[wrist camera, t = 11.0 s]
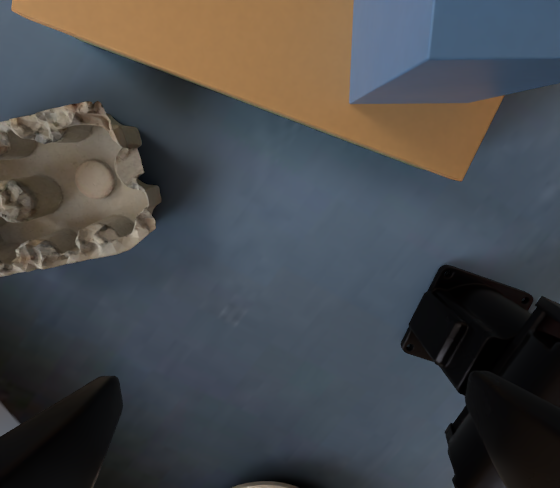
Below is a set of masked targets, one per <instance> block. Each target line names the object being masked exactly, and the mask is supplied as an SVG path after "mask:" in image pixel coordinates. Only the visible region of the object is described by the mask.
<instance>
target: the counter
mask: <svg viewBox="0 0 560 488" xmlns="http://www.w3.org/2000/svg"><path fill="white" fill-rule="evenodd" d="M353 4H354V0H12V8H11V10H12V11H13V12H15V13H17V14H19V15H21V16H23V17H25V18H27V19H29V20H32V21H34V22H37V23H40V24H42V25H45V26H47V27H50V28H53V29H55V30H58V31H61V32H63V33H66V34H69V35H71V36H73V37H75V38H76V39H78V40H80V41H83V42H86V43H88V44H91V45H94V46H96V47H99V48H101V49H104V50H107V51H109V52H112V53H115V54H117V55H120V56H123V57H125V58H128V59H131V60H133V61H136V62H138V63H141V64H144V65H146V66H149V67H152V68H154V69H157V70H160V71H162V72H165V73H168V74H170V75H173V76H176V77H178V78H181V79H183V80H186V81H189V82H191V83H194V84H197V85H199V86H202V87H205V88H207V89H210V90H213V91H215V92H218V93H220V94H223V95H226V96H228V97H231V98H234V99H236V100H239V101H242V102H244V103H247V104H250V105H252V106H255V107H257V108H260V109H263V110H265V111H268V112H271V113H273V114H276V115H279V116H281V117H284V118H287V119H289V120H292V121H294V122H297V123H300V124H302V125H305V126H308V127H310V128H313V129H316V130H318V131H321V132H324V133H326V134H329V135H331V136H334V137H337V138H339V139H342V140H345V141H347V142H350V143H353V144H355V145H358V146H361V147H363V148H366V149H369V150H371V151H374V152H376V153H379V154H382V155H384V156H387V157H390V158H392V159H395V160H398V161H400V162H403V163H406V164H408V165H411V166H413V167H416V168H419V169H423V170H428V171H430V172H433V173H436V174H438V175H441V176H444V177H446V178H449V179H452V180H457V181H462V180H463V178H464V176H465V174H466V172H467V170H468V168H469V166H470V164H471V162H472V160H473V158H474V156H475V154H476V152H477V150H478V148H479V146H480V144H481V142H482V140H483V138H484V136H485V134H486V132H487V130H488V128H489V126H490V124H491V122H492V120H493V118H494V116H495V114H496V112H497V110H498V108H499V106H500V104H501V102H502V100H503V98H504V96H505V95H502V96H498V97H493V98H489V99H484V100H479V101H475V102H470V103H415V104H349V93H350V71H351V49H352V27H353Z"/></svg>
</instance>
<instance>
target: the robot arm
mask: <svg viewBox="0 0 560 488" xmlns="http://www.w3.org/2000/svg"><path fill="white" fill-rule="evenodd" d="M448 270H449V271H450V272H449V274H448V275H446V276H445V272H446V271H448ZM523 298H525V299H524V300H523V301H521V300H522V299H523ZM532 302H533V297H532V295H530V294H528V293H527V292H525V291H522V290H519V289H517V288H514V287H511V286H508V285H505V284H502V283H499V282H496V281H494V280H491V279H488V278H485V277H482V276H479V275H476V274H474V273H471V272H468V271H465V270H462V269H459V268H456V267H454V266H451V265H443V266H441V267H440V268H439V270H438V272H437V274H436V275H435V277H434V279H433V281H432V283H431V285H430V287H429V289H428V291H427V292H426V293H424V295H423V297H422V299H421V301H420V303H419V305H418V307H417V309H416V311H415V313H414V315H413V317H412V319H411V321H410V323H409V328H408V330H407V332H406V334H405V336H404V338H403V340H402V341H401V347H402V349H403V350H404V352H406V353H408V354H411V355H414V356H417V357H420V358H424V359H427V360H430V361H433V362H435V364H437V365H439V367H440V368H441V369H442V371H443V372H444V373H445V375H446V376H447V377H448V379H449V380H450V382H451V383H452V384H453V386H454V387H455V388H456V390H457V391H458V392H459V393H460V394H463V395H465V402H466V406H465V408H464V409H463V411H462V412H461V413H460V415H459V416H458V418H457V419H456V420H455V422H454V423H450V425H449V426H448V427H447V429H446V430H445V434H446V439H447V443H448V455H449V457H450V460H451V463H452V466H453V469H454V473H455V475H454V477H453V479H452V481H453V484H454V487H455V488H560V304H559V303H557V302H554V301H552V300H550V299H548V298H546V297H543V296H541V298H540V299H539V300H538V302H537V303H536V305H535V306H537V308H536V309H535V310H534V312H533V313H532V314H531V313H530V312H528V309H529V307H530V306H531V304H532ZM408 344H412V345H411V346H410V347H407V345H408ZM122 408H123V401H122V395H121V389H120V383H119V379H118V378H117V377H116V376H100V377H98V378H96V379H95V380H93V381H91V382H90V383H88V384H86V385H85V386H83V387H81V388H80V389H78V390H77V391H75V392H73V393H72V394H70V395H68V396H67V397H65V398H63V399H62V400H60V401H58V402H57V403H55V404H53V405H52V406H50V407H49V408H47V409H45V410H44V411H42V412H40V413H39V414H37V415H35V416H34V417H32V418H30V419H29V420H27V421H25V422H24V423H22V424H20V425H19V426H17V427H16V428H14V429H12V430H11V431H9V432H7V433H6V434H4V435H2V436H1V437H0V488H93V486H94V483H95V481H96V479H97V477H98V474H99V472H100V469H101V467H102V464H103V462H104V459H105V456H106V453H107V451H108V448H109V445H110V443H111V440H112V437H113V434H114V432H115V429H116V426H117V424H118V421H119V418H120V415H121V412H122Z"/></svg>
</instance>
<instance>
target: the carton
mask: <svg viewBox="0 0 560 488" xmlns="http://www.w3.org/2000/svg"><path fill="white" fill-rule="evenodd" d="M557 83H560V0H354V4H353V27H352V49H351V71H350V93H349V104H415V103H470V102H475V101H479V100H484V99H489V98H493V97H498V96H502V95H507V94H512V93H516V92H521V91H525V90H530V89H534V88H539V87H544V86H548V85H553V84H557Z"/></svg>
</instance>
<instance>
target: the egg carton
mask: <svg viewBox="0 0 560 488" xmlns="http://www.w3.org/2000/svg"><path fill="white" fill-rule="evenodd" d="M141 145H142V140H141V138H140V133H139V131H138V129H137V128H136V127H131V126H124V125H121V124H120V123H118V122H117V121H116V120H114V118H113V117H112V116H111V115H110V114H108V113H106V112H105V110H104V108H103V106H102V104H101V103H100V102H98V101H97V102H95V103H94V104H92V102H83V103H79V104H70V105H66V106H63V107H59V108H53V109H48V110H44V111H41V112H38V113H36V114H34V115H29V116H24V117H18V118H13V119H10V120H9V121H4V122H0V277H2V276H8V275H11V274H15V273H19V272H25V271H26V272H29V271H32V270H35V269H48V268H52V267H56V266H60V265H64V264H69V263H75V262H80V261H84V260H88V259H94V258H101V257H105V256H110V255H115V254H119V253H122V252H125V251H128V250H129V249H131V248H132V247H134V246H135V245H137V244H138V243H139V242H140V241H141V240H142V239H143V238H145V237H146V236H147V235H148V234H149V233H150V232H152V231H153V230H155V229H156V222H155V219H154V218H153V217H152V212H153V209H154V208H155V207H156V206H157V205H158V204H159V203H161V196H160V188H159V187H158V186H157V185H148V184H145V183H143V182H141V181H140V180H139V179H138V177H139V176H141V175H142V174H143V173H144V171H143V166H142V162H141V158H140V155H139V151H138V149H137V148H138V147H140V146H141Z"/></svg>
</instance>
